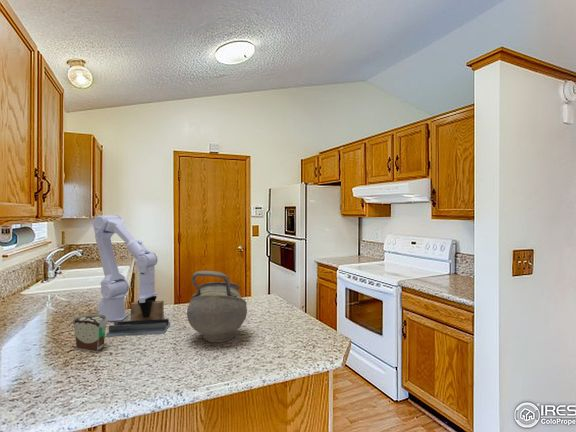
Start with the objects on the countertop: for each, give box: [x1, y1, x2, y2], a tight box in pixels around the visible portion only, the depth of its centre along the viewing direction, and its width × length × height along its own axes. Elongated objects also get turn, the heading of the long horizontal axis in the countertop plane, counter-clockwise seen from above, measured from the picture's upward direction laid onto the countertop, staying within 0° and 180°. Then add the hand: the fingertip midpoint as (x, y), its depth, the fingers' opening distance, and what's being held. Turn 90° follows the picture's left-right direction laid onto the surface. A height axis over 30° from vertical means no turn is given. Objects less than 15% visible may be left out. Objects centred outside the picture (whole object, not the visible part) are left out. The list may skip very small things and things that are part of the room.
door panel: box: [130, 300, 165, 321], centre depth 134 cm, size 12×3×8 cm, turn 98°
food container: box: [72, 313, 109, 353], centre depth 109 cm, size 12×6×10 cm, turn 71°
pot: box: [186, 270, 248, 343], centre depth 115 cm, size 21×21×25 cm
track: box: [105, 318, 171, 338], centre depth 124 cm, size 20×10×3 cm, turn 98°
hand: (147, 315), depth 134 cm, fingers closed on door panel, 3 cm apart
